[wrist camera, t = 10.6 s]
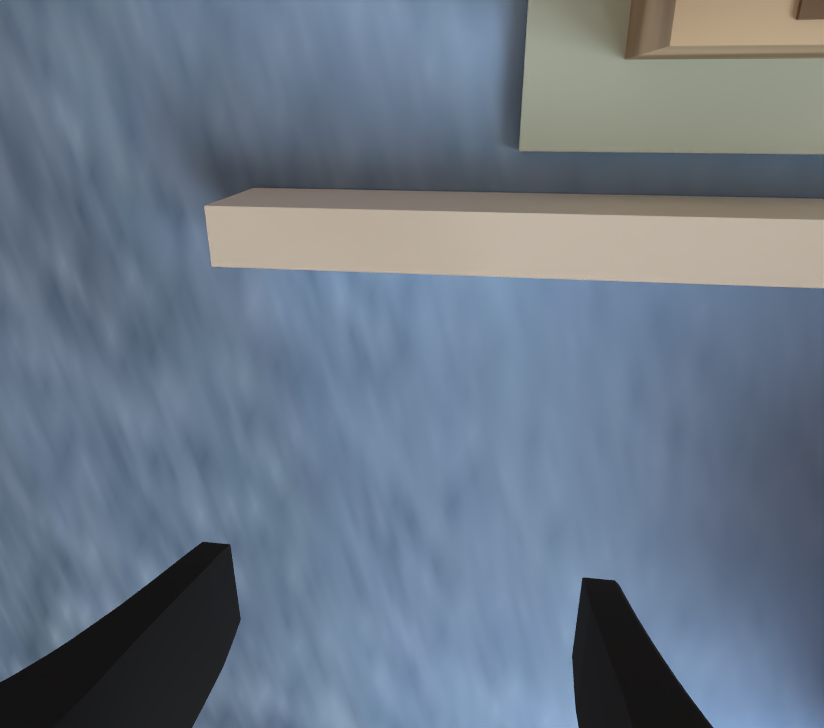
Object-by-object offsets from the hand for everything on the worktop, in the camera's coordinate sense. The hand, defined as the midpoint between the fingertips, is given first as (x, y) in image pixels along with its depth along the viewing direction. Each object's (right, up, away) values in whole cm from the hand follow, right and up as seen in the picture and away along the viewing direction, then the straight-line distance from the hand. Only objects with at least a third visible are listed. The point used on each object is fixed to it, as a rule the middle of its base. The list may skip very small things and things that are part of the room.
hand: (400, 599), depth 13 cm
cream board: (+6, +9, +6) cm, 12 cm away
